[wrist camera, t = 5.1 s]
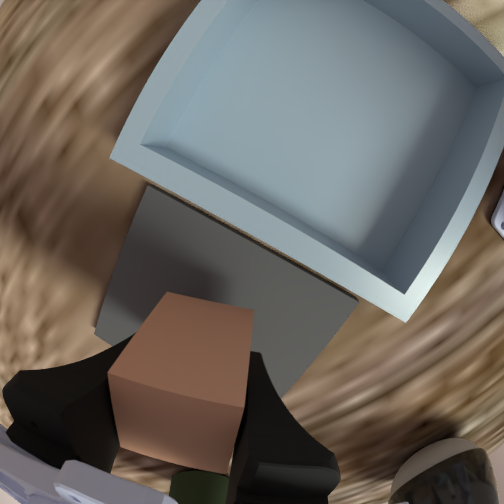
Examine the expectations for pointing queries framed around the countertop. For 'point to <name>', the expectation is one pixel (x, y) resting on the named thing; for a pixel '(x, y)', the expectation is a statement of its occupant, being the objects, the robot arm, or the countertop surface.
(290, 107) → the bin
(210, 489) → the character mug
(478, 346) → the countertop surface
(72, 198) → the countertop surface
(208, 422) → the block
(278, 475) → the robot arm
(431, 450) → the dark grey dome figure
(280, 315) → the mat
